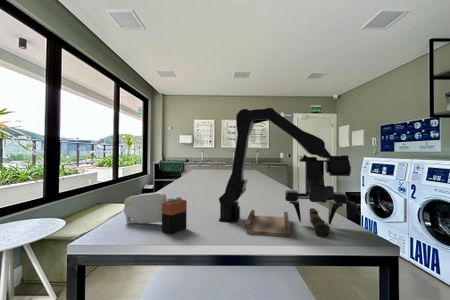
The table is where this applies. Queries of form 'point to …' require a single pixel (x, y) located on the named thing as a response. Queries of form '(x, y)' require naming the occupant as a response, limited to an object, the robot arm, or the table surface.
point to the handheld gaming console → (144, 208)
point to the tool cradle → (267, 225)
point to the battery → (174, 215)
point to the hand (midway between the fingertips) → (314, 222)
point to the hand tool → (318, 224)
